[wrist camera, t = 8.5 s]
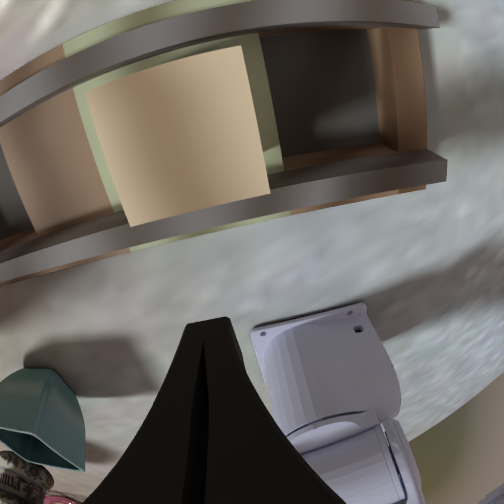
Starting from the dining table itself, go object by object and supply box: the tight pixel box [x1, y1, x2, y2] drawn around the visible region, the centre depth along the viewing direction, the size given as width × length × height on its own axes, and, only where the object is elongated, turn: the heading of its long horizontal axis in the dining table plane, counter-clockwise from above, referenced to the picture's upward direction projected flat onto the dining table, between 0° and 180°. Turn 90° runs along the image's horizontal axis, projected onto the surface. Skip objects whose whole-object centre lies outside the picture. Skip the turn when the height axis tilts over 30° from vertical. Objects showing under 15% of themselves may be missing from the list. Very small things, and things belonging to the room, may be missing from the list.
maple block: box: [85, 45, 270, 227], centre depth 11 cm, size 5×5×5 cm
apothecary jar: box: [0, 451, 54, 504], centre depth 31 cm, size 12×12×18 cm
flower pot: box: [0, 368, 85, 472], centre depth 23 cm, size 9×9×9 cm
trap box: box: [0, 0, 447, 286], centre depth 14 cm, size 32×12×4 cm, turn 101°
